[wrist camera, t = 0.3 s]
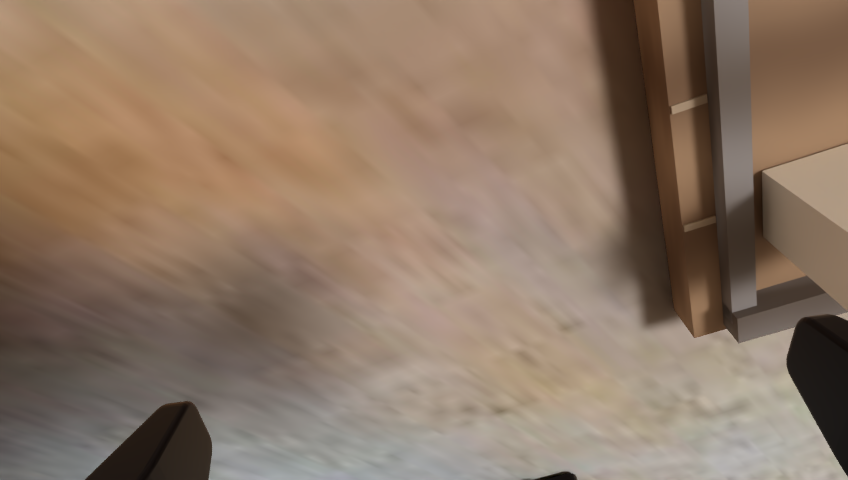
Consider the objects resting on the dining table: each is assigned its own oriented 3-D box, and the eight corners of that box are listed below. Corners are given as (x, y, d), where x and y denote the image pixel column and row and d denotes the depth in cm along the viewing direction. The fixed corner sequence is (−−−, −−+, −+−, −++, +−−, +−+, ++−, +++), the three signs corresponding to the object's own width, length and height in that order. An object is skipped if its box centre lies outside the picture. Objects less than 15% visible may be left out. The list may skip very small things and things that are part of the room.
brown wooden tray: (896, 243, 25) (958, 285, 22) (674, 309, 26) (707, 356, 24) (990, -455, 14) (1139, -541, 11) (596, -286, 15) (643, -326, 12)
